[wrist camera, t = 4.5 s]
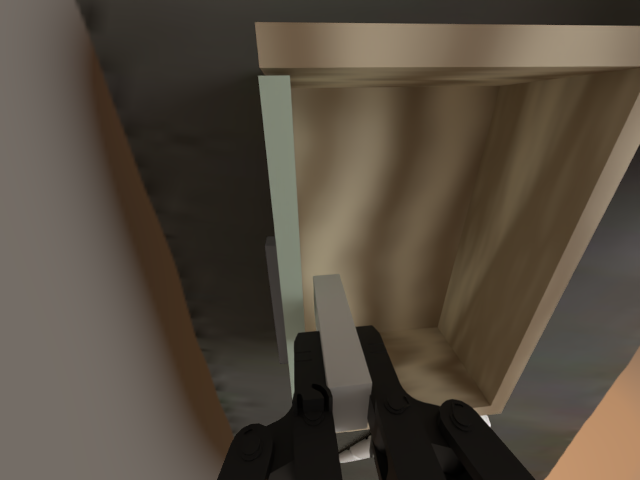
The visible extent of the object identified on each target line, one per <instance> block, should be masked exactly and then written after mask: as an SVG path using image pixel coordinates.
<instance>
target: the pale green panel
mask: <svg viewBox="0 0 640 480" xmlns="http://www.w3.org/2000/svg"><path fill="white" fill-rule="evenodd" d="M258 79H259V88H260V98H261V107H262V117H263V126H264V136H265V145H266V154H267V164H268V173H269V183H270V192H271V202H272V211H273V220H274V230H275V236H270V237H267V238H266V243H265V252H266V260H267V267H268V275H269V283H270V291H271V298H272V306H273V314H274V322H275V329H276V337H277V345H278V353H279V361H280V364H286V363H289V372H290V381H291V390H292V400H293V394H294V341H295V338H296V336H297V334H298V333H301V332H305V323H304V306H303V289H302V272H301V255H300V238H299V220H298V203H297V186H296V169H295V152H294V135H293V118H292V100H291V85H290V75H283V76H258Z"/></svg>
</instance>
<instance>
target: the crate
mask: <svg viewBox="0 0 640 480" xmlns="http://www.w3.org/2000/svg"><path fill="white" fill-rule="evenodd" d="M255 28H256V38H257V48H258V58H259V67H260V69H261V71H262V72H263V73H264V75H265V76H283V75H290V85H291V100H292V118H293V135H294V152H295V169H296V186H297V203H298V220H299V238H300V255H301V272H302V289H303V306H304V323H305V332H311V331H317V330H316V322H315V313H314V287H313V276H318V275H332V274H339V275H340V278H341V281H342V284H343V288H344V291H345V294H346V298H347V301H348V304H349V308H350V311H351V314H352V318H353V321H354V324H355V327H358V326H369V325H372V326H373V327H374V328H375V329H376V330H377V331H378V332H379V333H380V335H381V337H382V340H383V342H384V345H385V347H386V350H387V353H388V355H389V357H390V359H391V362H392V364H393V367H394V369H395V372H396V374H397V377H398V379H399V382H400V384H401V386H402V388H403V389H404V390H405V391H406V392H407V393H408V394H409V395H410V396H411V397H413V398H415V399H416V400H419V401H422V402H425V403H430V404H434V405H439V406H441V404H442V403H443V402H445V401H446V400H450V399H455V400H460V401H463V402H464V403H466V404H468V405H470V406H471V407H472V408H473V409H474V410H475V411H476V412H477V413H478V414H479V415H480V416H483V415H491V414H500V413H501V412H502V410H503V408H504V406H505V404H506V403H507V401H508V399H509V397H510V395H511V393H512V391H513V389H514V387H515V385H516V383H517V381H518V379H519V377H520V375H521V373H522V372H523V370H524V368H525V366H526V364H527V362H528V360H529V358H530V356H531V354H532V352H533V350H534V348H535V346H536V344H537V342H538V340H539V339H540V337H541V335H542V333H543V331H544V329H545V327H546V325H547V323H548V321H549V319H550V317H551V315H552V313H553V311H554V309H555V308H556V306H557V304H558V302H559V300H560V298H561V296H562V294H563V292H564V290H565V288H566V286H567V284H568V282H569V280H570V278H571V277H572V275H573V273H574V271H575V269H576V267H577V265H578V263H579V261H580V259H581V257H582V255H583V253H584V251H585V249H586V247H587V246H588V244H589V242H590V240H591V238H592V236H593V234H594V232H595V230H596V228H597V226H598V224H599V222H600V220H601V218H602V216H603V215H604V213H605V211H606V209H607V207H608V205H609V203H610V201H611V199H612V197H613V195H614V193H615V191H616V189H617V187H618V185H619V183H620V182H621V180H622V178H623V176H624V174H625V172H626V170H627V168H628V166H629V164H630V162H631V160H632V158H633V156H634V154H635V152H636V151H637V149H638V147H639V145H640V26H591V25H490V24H389V23H289V22H255ZM366 429H370V428H369V424H368V425H367V428H366ZM358 430H365V429H358ZM350 431H357V430H350ZM342 432H349V431H342ZM336 433H340V432H336Z"/></svg>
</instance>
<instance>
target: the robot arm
mask: <svg viewBox="0 0 640 480" xmlns="http://www.w3.org/2000/svg"><path fill="white" fill-rule="evenodd" d="M313 287H314V313H315V322H316V330H317V331H311V332H301V333H298V334H297V336H296V338H295V341H294V394H293V400H292V407H291V409H290V410H289V412H288V413H287V414H286V415H285V416H284V417H283V418H281V419H280V420H278V421H276V422H274V423H272V424H270V425H268V426H264V425H261V424H250V425H248V426H246V427H244V428H242V429H241V430H240V431H239V432H238V433H237V434H236V436H235V437H234V439H233V441H232V443H231V445H230V448H229V450H228V453H227V455H226V458H225V461H224V463H223V466H222V468H221V471H220V474H219V476H218V479H217V480H342V474H341V467H340V460H339V453H338V446H337V439H336V432H342V431H350V430H358V429H366V428H367V425H368V424H369V428H370V432H371V441H370V449H369V453H370V458H371V457H373V456H374V460H375V465H376V469H377V473H378V477H379V480H535V479H534V478H533V476H532V475H531V474H530V473H529V472H528V471H527V469H526V468H525V467H524V466H523V465H522V464H521V462H520V461H519V460H518V459H517V458H516V457H515V456H514V454H513V453H512V452H511V451H510V450H509V449H508V447H507V446H506V445H505V444H504V443H503V442H502V441H501V439H500V438H499V437H498V436H497V435H496V434H495V432H494V431H493V430H492V429H491V428H490V427H489V425H488V424H487V423H486V422H485V421H484V420H483V419H482V417H481V416H480V415H479V414H478V413H477V412H476V411H475V410H474V409H473V408H472V407H471V406H470V405H468V404H466V403H464V402H463V401H460V400H455V399H450V400H446V401H445V402H443V403H442V404H441V406H439V405H434V404H430V403H425V402H422V401H419V400H416V399H415V398H413V397H411V396H410V395H409V394H408V393H407V392H406V391H405V390H404V389H403V388H402V386H401V384H400V382H399V379H398V377H397V374H396V372H395V369H394V367H393V364H392V362H391V359H390V357H389V355H388V353H387V350H386V347H385V345H384V342H383V340H382V337H381V335H380V333H379V332H378V331H377V330H376V329H375V328H374V327H373V326H372V325H369V326H358V327H355V324H354V321H353V318H352V314H351V311H350V308H349V304H348V301H347V298H346V294H345V291H344V288H343V284H342V281H341V278H340V275H339V274H332V275H318V276H313Z"/></svg>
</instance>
